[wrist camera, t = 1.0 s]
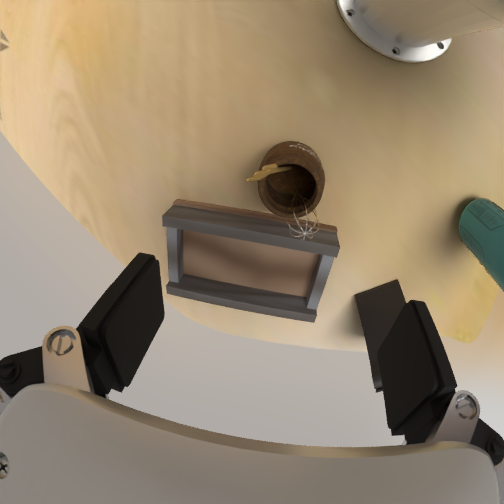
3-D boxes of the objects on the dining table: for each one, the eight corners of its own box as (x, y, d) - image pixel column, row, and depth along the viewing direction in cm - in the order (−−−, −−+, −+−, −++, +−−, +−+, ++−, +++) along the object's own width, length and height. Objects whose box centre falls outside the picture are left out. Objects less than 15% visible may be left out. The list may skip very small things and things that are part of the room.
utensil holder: (286, 206, 30) (279, 270, 19) (249, 160, 28) (218, 201, 17) (332, 176, 27) (353, 226, 17) (295, 125, 25) (295, 143, 15)
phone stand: (406, 324, 35) (426, 391, 25) (369, 336, 38) (380, 406, 27) (397, 278, 32) (425, 351, 22) (354, 293, 34) (368, 370, 24)
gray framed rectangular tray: (177, 199, 31) (162, 213, 28) (336, 226, 30) (340, 244, 26) (178, 276, 37) (166, 295, 33) (312, 302, 36) (313, 324, 32)
